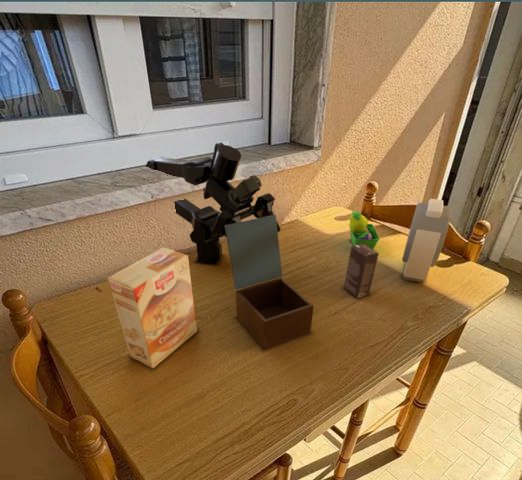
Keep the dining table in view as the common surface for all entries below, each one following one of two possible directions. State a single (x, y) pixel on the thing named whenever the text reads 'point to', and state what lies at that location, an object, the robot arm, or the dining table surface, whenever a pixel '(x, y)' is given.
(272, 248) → the lid
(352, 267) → the box
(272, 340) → the chest
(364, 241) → the fruit basket
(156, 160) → the robot arm
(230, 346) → the dining table surface
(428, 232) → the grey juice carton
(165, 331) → the coffeecake box
